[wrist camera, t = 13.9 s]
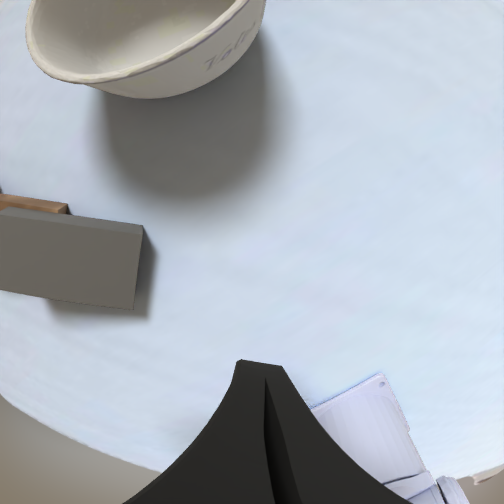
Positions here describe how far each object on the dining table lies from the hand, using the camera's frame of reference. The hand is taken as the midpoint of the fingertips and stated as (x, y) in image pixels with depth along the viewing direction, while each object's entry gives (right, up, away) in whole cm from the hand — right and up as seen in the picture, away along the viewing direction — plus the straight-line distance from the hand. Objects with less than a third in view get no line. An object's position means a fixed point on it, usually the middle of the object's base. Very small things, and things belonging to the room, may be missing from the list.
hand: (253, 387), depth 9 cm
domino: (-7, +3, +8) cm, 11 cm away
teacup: (-5, +19, +5) cm, 20 cm away
